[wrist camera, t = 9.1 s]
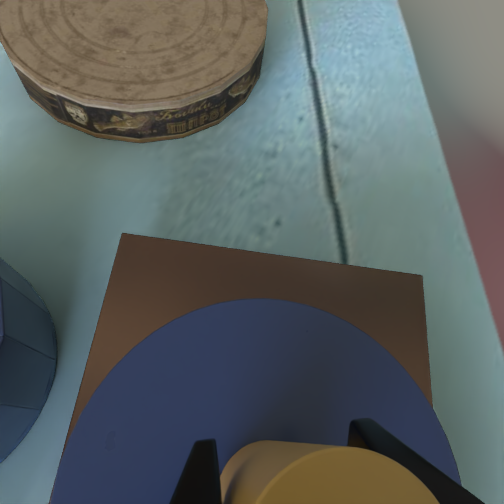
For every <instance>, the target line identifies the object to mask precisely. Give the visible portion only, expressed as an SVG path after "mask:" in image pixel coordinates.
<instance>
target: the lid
mask: <svg viewBox="0 0 504 504" xmlns="http://www.w3.org/2000/svg"><path fill="white" fill-rule="evenodd" d="M360 418H371V419H373V420H374V421H376V422H377V423H378V424H380V425H381V426H382V427H384V428H385V429H386V430H388V431H389V432H390V433H392V434H393V435H394V436H396V437H397V438H398V439H400V440H401V441H402V442H404V443H405V444H406V445H408V446H409V447H410V448H412V449H413V450H414V451H416V452H417V453H418V454H420V455H421V456H422V457H424V458H425V459H426V460H428V461H429V462H430V463H432V464H433V465H434V466H436V467H437V468H438V469H440V470H441V471H442V472H444V473H445V474H446V475H448V476H449V477H450V478H452V479H453V480H454V481H456V482H457V483H458V484H460V485H461V481H460V477H459V473H458V469H457V465H456V461H455V459H454V456H453V453H452V450H451V448H450V445H449V442H448V439H447V437H446V434H445V432H444V430H443V428H442V426H441V424H440V422H439V420H438V418H437V416H436V414H435V412H434V410H433V408H432V407H431V405H430V403H429V402H428V400H427V399H426V397H425V395H424V394H423V392H422V390H421V389H420V387H419V386H418V385H417V384H416V382H415V381H414V380H413V378H412V377H411V376H410V375H409V373H408V372H407V371H406V369H405V368H404V367H403V366H402V365H401V364H400V363H399V362H398V361H397V360H396V359H395V358H394V357H393V356H392V355H391V354H390V353H389V352H388V351H387V350H386V349H385V348H384V347H383V346H381V345H380V344H379V343H378V342H377V341H375V340H374V339H373V338H372V337H370V336H369V335H368V334H366V333H365V332H363V331H362V330H360V329H359V328H357V327H356V326H354V325H352V324H351V323H349V322H348V321H346V320H344V319H341V318H339V317H337V316H335V315H333V314H331V313H329V312H327V311H324V310H321V309H318V308H315V307H312V306H310V305H307V304H302V303H297V302H293V301H288V300H281V299H269V298H249V299H237V300H231V301H225V302H219V303H215V304H212V305H209V306H205V307H202V308H199V309H196V310H193V311H191V312H189V313H187V314H184V315H182V316H180V317H178V318H175V319H174V320H172V321H170V322H169V323H167V324H165V325H164V326H162V327H160V328H159V329H157V330H155V331H154V332H152V333H151V334H150V335H148V336H147V337H146V338H145V339H143V340H142V341H141V342H139V343H138V344H137V345H136V346H134V347H133V348H132V349H131V350H130V351H129V352H128V353H127V354H126V355H125V356H124V357H123V358H122V359H121V360H120V361H119V362H118V363H117V364H116V365H115V366H114V367H113V368H112V370H111V371H110V372H109V373H108V375H107V376H106V377H105V378H104V380H103V381H102V382H101V383H100V385H99V386H98V387H97V388H96V390H95V392H94V393H93V395H92V396H91V398H90V400H89V401H88V403H87V404H86V406H85V408H84V409H83V411H82V412H81V414H80V416H79V419H78V421H77V423H76V425H75V427H74V429H73V431H72V433H71V435H70V437H69V439H68V442H67V445H66V448H65V451H64V453H63V456H62V459H61V462H60V465H59V468H58V471H57V475H56V480H55V484H54V488H53V493H52V497H51V502H50V504H169V502H170V500H171V497H172V495H173V493H174V490H175V488H176V485H177V483H178V480H179V478H180V476H181V473H182V471H183V468H184V466H185V463H186V461H187V459H188V456H189V454H190V451H191V449H192V446H193V444H194V443H195V441H197V440H203V439H210V438H214V439H215V440H216V445H217V454H218V463H219V472H220V481H221V493H222V504H440V503H439V502H438V501H437V499H436V498H435V497H434V495H433V494H432V493H431V492H430V490H429V489H428V488H427V487H426V486H425V485H424V484H423V483H422V482H421V481H420V480H419V479H418V478H417V477H416V476H415V475H414V474H412V473H411V472H410V471H409V470H408V469H406V468H405V467H403V466H402V465H400V464H399V463H397V462H396V461H394V460H392V459H390V458H388V457H386V456H384V455H382V454H379V453H376V452H374V451H371V450H367V449H362V448H357V447H347V443H348V433H349V424H350V422H351V420H353V419H360ZM461 486H462V485H461Z"/></svg>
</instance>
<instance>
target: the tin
mask: <svg viewBox="0 0 504 504" xmlns="http://www.w3.org/2000/svg"><path fill="white" fill-rule="evenodd" d="M56 359H57V341H56V334H55V329H54V325H53V322H52V319H51V316H50V313H49V311H48V309H47V307H46V306H45V304H44V302H43V300H42V299H41V298H40V296H39V295H38V294H37V293H36V291H35V290H34V289H33V287H32V286H31V284H30V283H29V282H28V281H27V280H26V279H25V278H23V277H22V276H21V275H20V274H19V273H18V272H16V271H15V270H14V269H13V268H12V267H11V266H9V265H8V264H7V263H6V262H5V261H4V260H2V259H1V258H0V463H1V462H2V461H3V460H4V459H5V458H6V457H7V456H8V455H9V454H10V453H11V452H12V451H13V450H14V449H15V448H16V447H17V445H18V444H19V443H20V442H21V441H22V439H23V438H24V437H25V436H26V434H27V433H28V432H29V430H30V429H31V427H32V425H33V424H34V422H35V421H36V419H37V418H38V416H39V414H40V412H41V410H42V408H43V406H44V404H45V402H46V400H47V397H48V394H49V391H50V389H51V386H52V382H53V378H54V373H55V369H56Z"/></svg>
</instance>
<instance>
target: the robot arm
mask: <svg viewBox="0 0 504 504" xmlns="http://www.w3.org/2000/svg"><path fill="white" fill-rule="evenodd" d="M347 447H357V448H362V449H367V450H371V451H374V452H376V453H379V454H382V455H384V456H386V457H388V458H390V459H392V460H394V461H396V462H397V463H399V464H400V465H402V466H403V467H405V468H406V469H408V470H409V471H410V472H411V473H412V474H414V475H415V476H416V477H417V478H418V479H419V480H420V481H421V482H422V483H423V484H424V485H425V486H426V487H427V488H428V489H429V490H430V492H431V493H432V494H433V495H434V497H435V498H436V499H437V501H438V502H439V503H440V504H485V503H484V502H482V501H481V500H480V499H478V498H477V497H476V496H474V495H473V494H472V493H470V492H469V491H468V490H466V489H465V488H464V487H462V486H461V485H460V484H458V483H457V482H456V481H454V480H453V479H452V478H450V477H449V476H448V475H446V474H445V473H444V472H442V471H441V470H440V469H438V468H437V467H436V466H434V465H433V464H432V463H430V462H429V461H428V460H426V459H425V458H424V457H422V456H421V455H420V454H418V453H417V452H416V451H414V450H413V449H412V448H410V447H409V446H408V445H406V444H405V443H404V442H402V441H401V440H400V439H398V438H397V437H396V436H394V435H393V434H392V433H390V432H389V431H388V430H386V429H385V428H384V427H382V426H381V425H380V424H378V423H377V422H376V421H374V420H373V419H371V418H360V419H353V420H351V422H350V424H349V433H348V443H347ZM169 504H222V493H221V481H220V472H219V463H218V454H217V445H216V440H215V439H214V438H210V439H203V440H197V441H195V443H194V444H193V446H192V449H191V451H190V454H189V456H188V459H187V461H186V463H185V466H184V468H183V471H182V473H181V476H180V478H179V480H178V483H177V485H176V488H175V490H174V493H173V495H172V497H171V500H170V502H169Z"/></svg>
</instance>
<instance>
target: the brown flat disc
mask: <svg viewBox="0 0 504 504" xmlns="http://www.w3.org/2000/svg"><path fill="white" fill-rule="evenodd" d="M267 16H268V7H267V5H266V2H265V0H0V41H1V43H2V45H3V47H4V49H5V51H6V53H7V55H8V57H9V59H10V60H11V62H12V64H13V66H14V68H15V70H16V72H17V74H18V76H19V78H20V80H21V81H22V83H23V85H24V87H25V89H26V91H27V93H28V95H29V97H30V98H31V99H32V100H33V101H34V102H35V103H36V104H38V105H39V106H40V107H41V108H42V109H44V110H45V111H46V112H47V113H48V114H50V115H51V116H52V117H53V118H54V119H56V120H57V121H58V122H60V123H62V124H65V125H67V126H70V127H72V128H75V129H77V130H79V131H82V132H84V133H87V134H89V135H92V136H94V137H96V138H104V139H112V140H120V141H127V142H135V143H145V142H153V141H162V140H170V139H178V138H184V137H186V136H189V135H191V134H194V133H196V132H199V131H201V130H204V129H206V128H209V127H211V126H214V125H216V124H219V123H220V122H221V121H223V120H224V119H225V118H226V117H227V116H229V115H230V114H231V113H232V112H234V111H235V110H236V109H237V108H238V107H240V106H241V105H242V104H243V103H245V101H246V100H247V98H248V96H249V94H250V93H251V91H252V89H253V87H254V86H255V84H256V82H257V80H258V79H259V77H260V70H261V64H262V58H263V51H264V45H265V38H266V28H267Z"/></svg>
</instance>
